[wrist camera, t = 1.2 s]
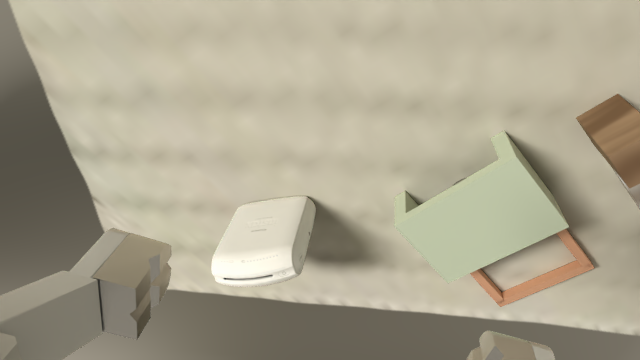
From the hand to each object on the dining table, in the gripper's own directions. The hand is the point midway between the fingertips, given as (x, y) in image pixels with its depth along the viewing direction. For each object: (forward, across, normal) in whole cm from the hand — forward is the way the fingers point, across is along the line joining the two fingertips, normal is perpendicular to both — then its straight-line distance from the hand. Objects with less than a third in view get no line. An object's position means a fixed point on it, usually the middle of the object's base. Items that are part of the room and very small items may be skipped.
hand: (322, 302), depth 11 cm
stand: (+36, -16, +16) cm, 42 cm away
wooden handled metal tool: (+36, -30, +8) cm, 48 cm away
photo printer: (+36, +6, +26) cm, 45 cm away
